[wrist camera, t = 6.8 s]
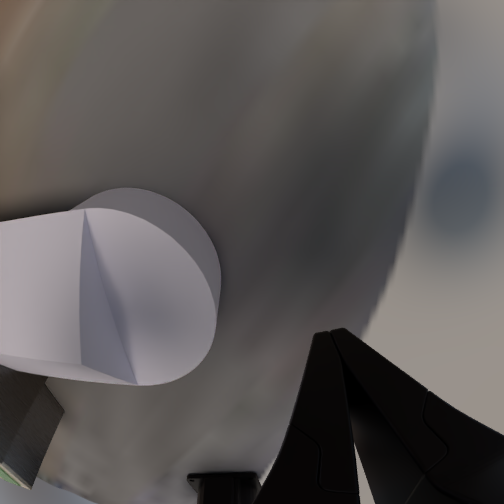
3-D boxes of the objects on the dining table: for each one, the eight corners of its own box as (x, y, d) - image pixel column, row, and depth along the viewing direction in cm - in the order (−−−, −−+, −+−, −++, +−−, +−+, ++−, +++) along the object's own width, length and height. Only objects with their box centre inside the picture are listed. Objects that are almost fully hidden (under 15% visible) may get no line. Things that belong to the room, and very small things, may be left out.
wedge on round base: (39, 338, 17) (229, 342, 17) (-7, 408, 11) (224, 444, 11) (-5, 209, 14) (211, 177, 14) (-84, 258, 8) (183, 229, 8)
